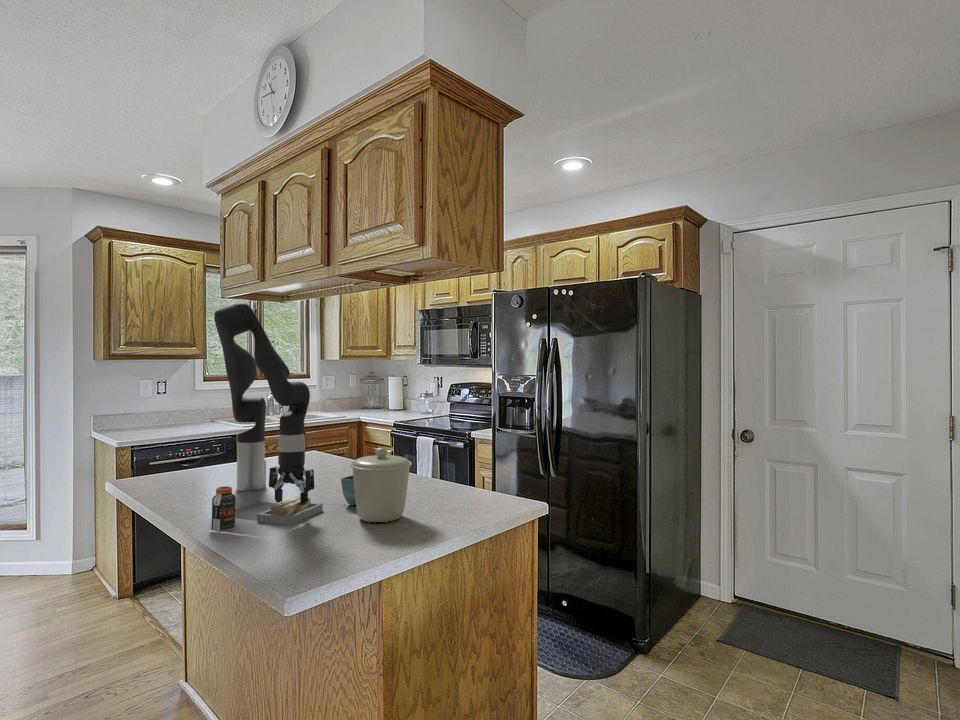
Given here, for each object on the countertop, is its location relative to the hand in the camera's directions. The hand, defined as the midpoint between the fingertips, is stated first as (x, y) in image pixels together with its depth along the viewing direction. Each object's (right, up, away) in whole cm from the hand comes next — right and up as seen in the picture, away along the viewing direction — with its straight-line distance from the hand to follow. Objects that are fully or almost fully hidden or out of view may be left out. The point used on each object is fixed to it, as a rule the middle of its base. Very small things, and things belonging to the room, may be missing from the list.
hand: (291, 503), depth 164 cm
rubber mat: (-12, -4, +6) cm, 14 cm away
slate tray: (0, -4, 0) cm, 4 cm away
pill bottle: (-15, -4, -11) cm, 19 cm away
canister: (+27, -5, 0) cm, 27 cm away
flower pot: (+17, -5, +16) cm, 23 cm away
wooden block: (0, -4, 0) cm, 4 cm away
